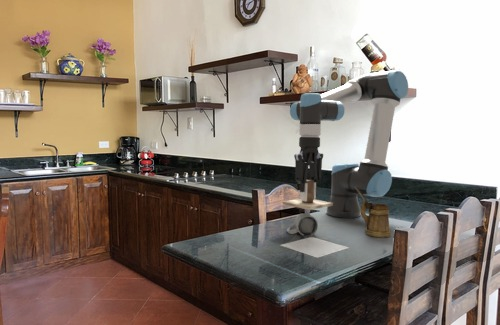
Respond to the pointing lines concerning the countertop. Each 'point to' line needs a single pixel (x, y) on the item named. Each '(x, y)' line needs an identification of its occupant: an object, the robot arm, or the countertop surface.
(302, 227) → the ceramic mug
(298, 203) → the lid
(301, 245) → the mat
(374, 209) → the wooden mug
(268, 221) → the countertop surface
